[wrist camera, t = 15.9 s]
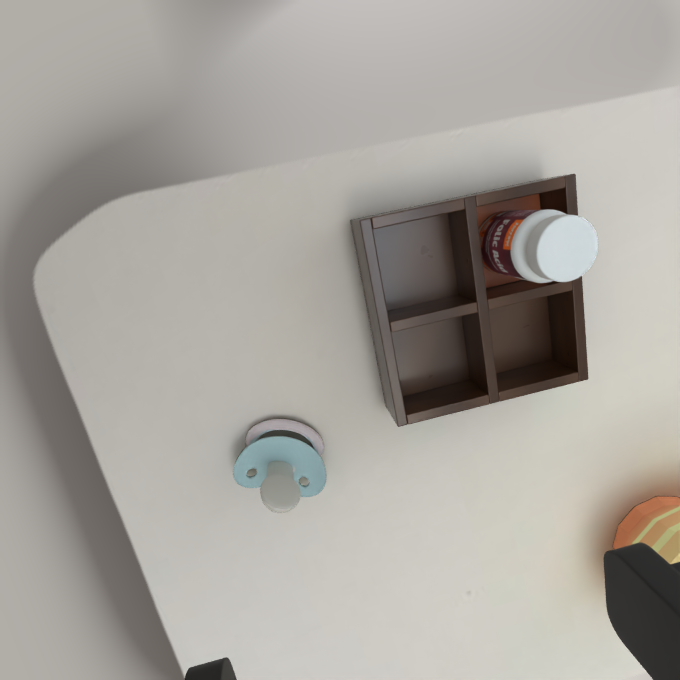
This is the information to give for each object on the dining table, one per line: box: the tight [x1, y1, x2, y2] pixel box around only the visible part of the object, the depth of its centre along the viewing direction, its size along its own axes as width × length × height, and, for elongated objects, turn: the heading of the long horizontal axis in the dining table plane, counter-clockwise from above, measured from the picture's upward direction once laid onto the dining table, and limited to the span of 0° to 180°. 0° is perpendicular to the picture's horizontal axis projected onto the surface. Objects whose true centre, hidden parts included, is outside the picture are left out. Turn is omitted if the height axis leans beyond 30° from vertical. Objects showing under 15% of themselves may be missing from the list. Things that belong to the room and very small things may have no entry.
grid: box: [350, 174, 588, 427], centre depth 36 cm, size 15×15×4 cm
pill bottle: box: [479, 209, 598, 283], centre depth 32 cm, size 5×5×8 cm
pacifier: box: [233, 419, 326, 513], centre depth 36 cm, size 7×6×6 cm
